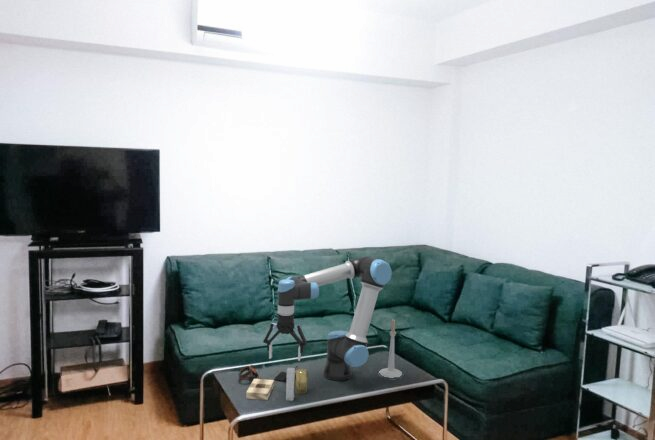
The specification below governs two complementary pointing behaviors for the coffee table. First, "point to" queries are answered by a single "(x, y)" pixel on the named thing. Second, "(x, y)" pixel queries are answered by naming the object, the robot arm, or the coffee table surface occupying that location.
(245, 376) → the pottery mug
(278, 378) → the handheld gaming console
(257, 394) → the socket plate
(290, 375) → the square steel bit
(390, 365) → the candlestick
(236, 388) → the coffee table surface
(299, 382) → the round brass bit
